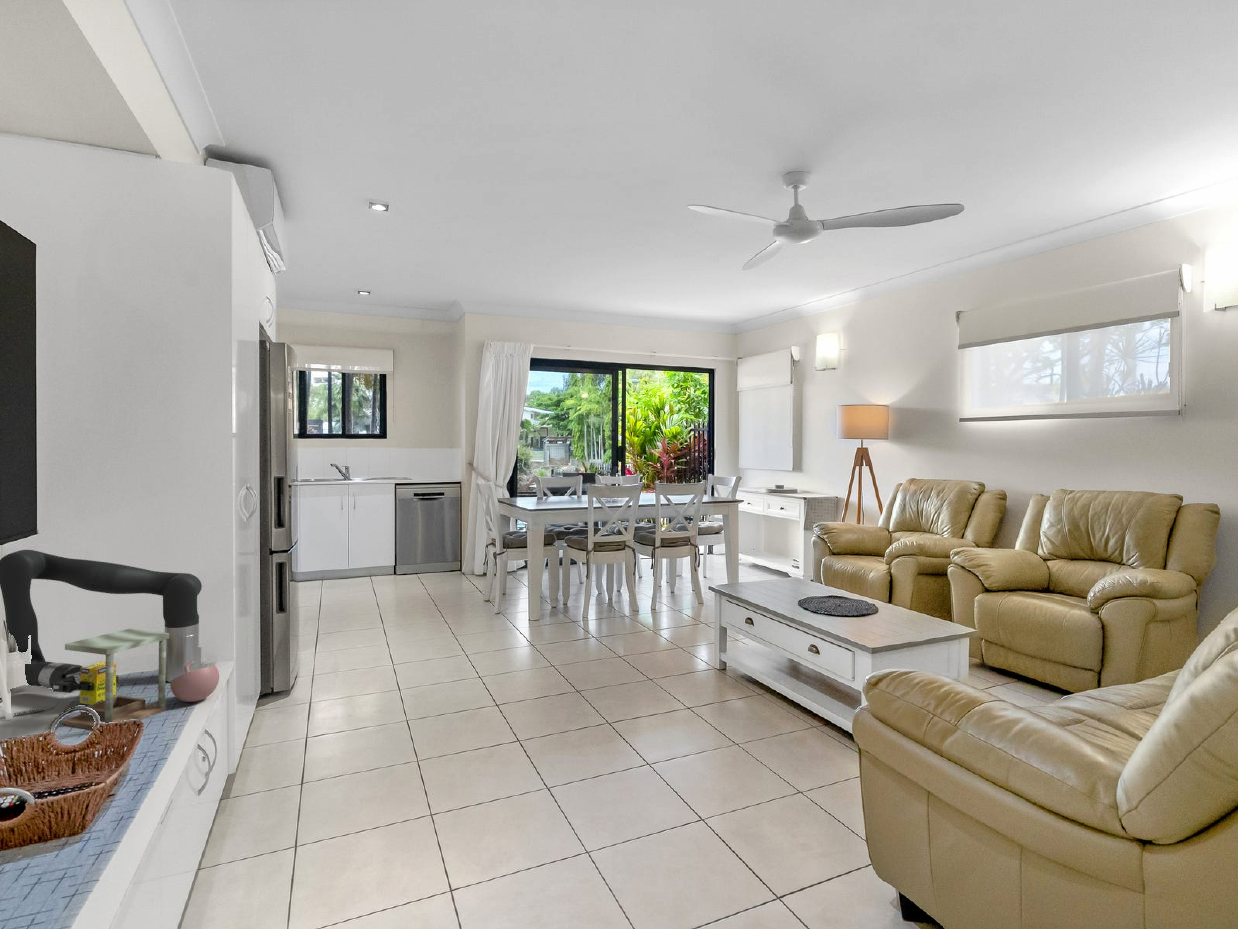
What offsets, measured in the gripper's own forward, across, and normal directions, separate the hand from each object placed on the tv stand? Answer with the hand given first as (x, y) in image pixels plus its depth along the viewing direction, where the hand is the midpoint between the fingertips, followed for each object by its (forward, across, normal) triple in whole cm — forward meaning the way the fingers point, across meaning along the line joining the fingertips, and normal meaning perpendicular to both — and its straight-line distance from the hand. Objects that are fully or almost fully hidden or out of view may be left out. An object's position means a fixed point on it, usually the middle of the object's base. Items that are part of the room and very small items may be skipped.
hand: (104, 683), depth 186 cm
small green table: (+11, -5, +6) cm, 13 cm away
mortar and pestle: (+21, +11, +6) cm, 24 cm away
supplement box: (-2, 0, +6) cm, 7 cm away
